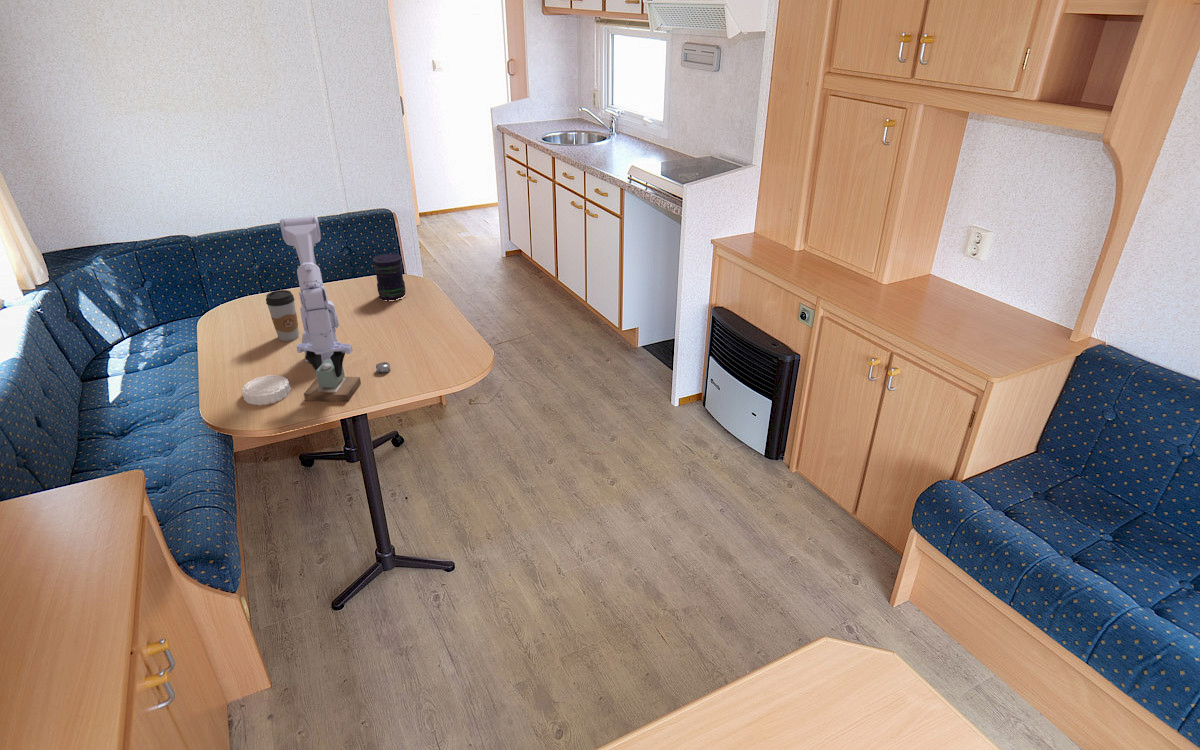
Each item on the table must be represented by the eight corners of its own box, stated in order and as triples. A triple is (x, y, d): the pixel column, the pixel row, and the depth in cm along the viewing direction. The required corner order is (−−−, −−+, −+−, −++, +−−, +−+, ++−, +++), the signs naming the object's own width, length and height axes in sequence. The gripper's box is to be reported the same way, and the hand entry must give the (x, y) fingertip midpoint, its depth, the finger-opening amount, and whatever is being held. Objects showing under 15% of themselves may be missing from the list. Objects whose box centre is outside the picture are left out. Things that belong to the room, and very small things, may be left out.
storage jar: (399, 289, 260) (394, 251, 253) (411, 297, 253) (405, 258, 246) (374, 295, 255) (368, 257, 247) (385, 303, 248) (379, 264, 241)
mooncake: (271, 408, 185) (268, 397, 183) (234, 402, 188) (231, 391, 186) (300, 387, 195) (297, 376, 193) (264, 381, 198) (261, 370, 196)
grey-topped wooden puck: (374, 374, 202) (373, 368, 201) (379, 367, 205) (378, 362, 204) (388, 374, 202) (387, 368, 201) (392, 368, 205) (391, 362, 204)
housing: (329, 375, 194) (325, 356, 192) (344, 375, 194) (341, 357, 191) (319, 387, 188) (315, 368, 185) (335, 387, 188) (331, 369, 185)
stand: (305, 400, 188) (303, 392, 187) (319, 382, 197) (318, 375, 196) (348, 401, 188) (346, 393, 187) (361, 383, 197) (359, 376, 195)
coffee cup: (280, 345, 218) (269, 301, 211) (271, 336, 224) (261, 293, 216) (306, 338, 223) (296, 295, 215) (297, 329, 228) (288, 287, 221)
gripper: (287, 336, 180) (298, 381, 187) (341, 337, 180) (350, 382, 186) (299, 325, 186) (309, 369, 193) (351, 326, 186) (359, 370, 192)
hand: (330, 375), depth 190 cm, fingers closed on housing, 4 cm apart
